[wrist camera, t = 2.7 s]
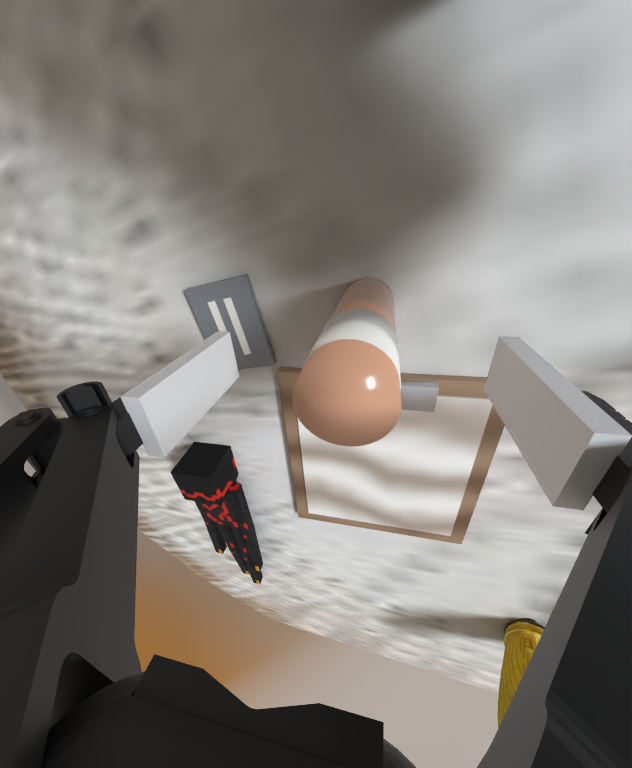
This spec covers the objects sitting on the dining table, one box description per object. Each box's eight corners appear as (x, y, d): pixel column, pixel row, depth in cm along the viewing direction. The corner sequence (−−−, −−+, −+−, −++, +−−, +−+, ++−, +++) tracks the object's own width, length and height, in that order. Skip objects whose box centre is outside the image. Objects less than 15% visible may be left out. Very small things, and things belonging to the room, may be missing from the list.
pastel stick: (340, 277, 21) (284, 352, 10) (396, 276, 20) (409, 356, 9) (341, 328, 23) (296, 441, 12) (391, 329, 22) (397, 452, 11)
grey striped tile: (187, 288, 24) (182, 290, 24) (247, 274, 23) (243, 275, 22) (222, 368, 28) (218, 371, 28) (276, 361, 26) (273, 365, 26)
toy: (277, 563, 50) (239, 445, 34) (267, 595, 46) (219, 479, 30) (235, 554, 52) (179, 439, 36) (222, 584, 48) (153, 470, 32)
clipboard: (280, 367, 27) (273, 376, 25) (515, 378, 22) (524, 390, 21) (300, 511, 38) (296, 523, 36) (459, 537, 33) (463, 552, 32)
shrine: (462, 622, 43) (492, 786, 31) (489, 601, 39) (537, 783, 27) (538, 648, 42) (600, 829, 30) (574, 630, 38) (666, 833, 25)
